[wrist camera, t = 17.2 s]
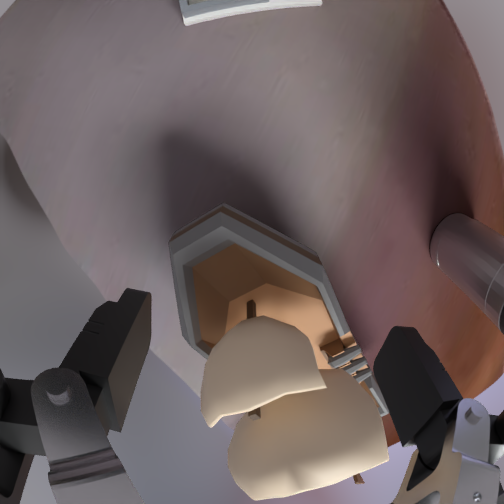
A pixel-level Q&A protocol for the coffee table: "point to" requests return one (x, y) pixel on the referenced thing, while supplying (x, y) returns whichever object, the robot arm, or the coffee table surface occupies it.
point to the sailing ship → (275, 356)
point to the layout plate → (233, 8)
